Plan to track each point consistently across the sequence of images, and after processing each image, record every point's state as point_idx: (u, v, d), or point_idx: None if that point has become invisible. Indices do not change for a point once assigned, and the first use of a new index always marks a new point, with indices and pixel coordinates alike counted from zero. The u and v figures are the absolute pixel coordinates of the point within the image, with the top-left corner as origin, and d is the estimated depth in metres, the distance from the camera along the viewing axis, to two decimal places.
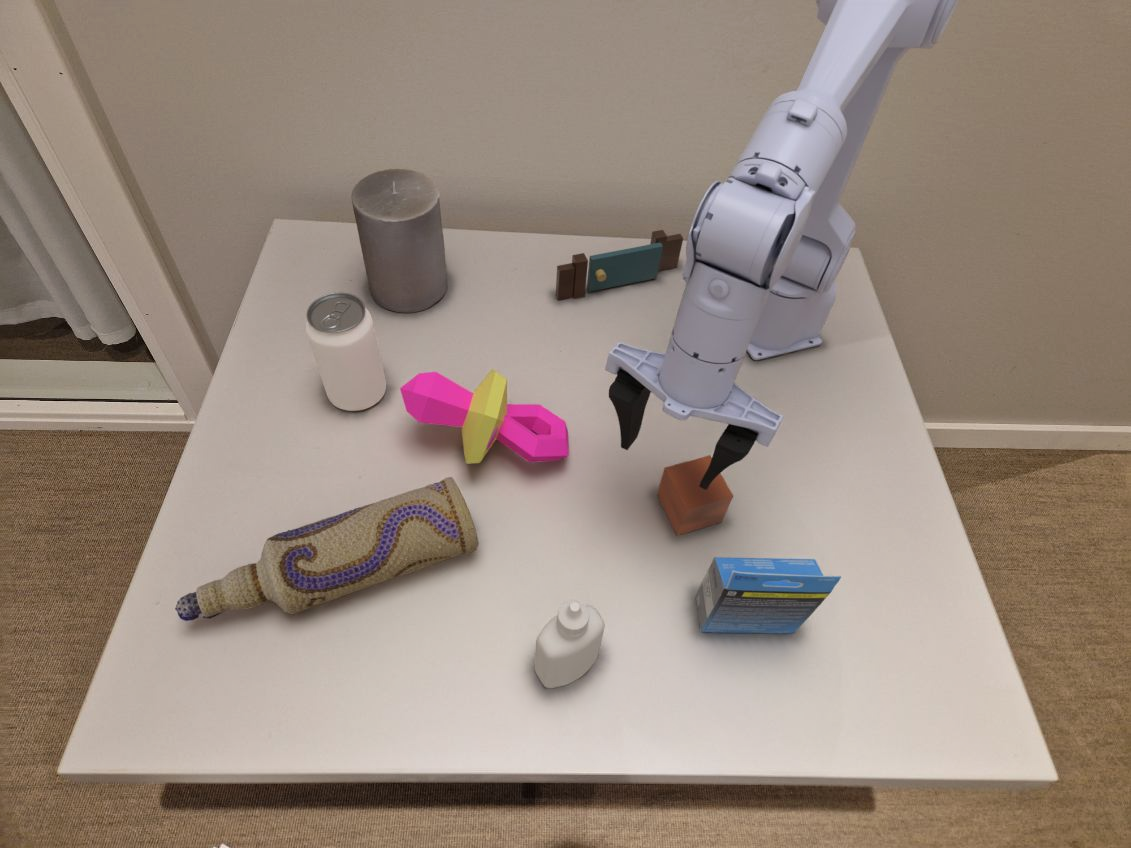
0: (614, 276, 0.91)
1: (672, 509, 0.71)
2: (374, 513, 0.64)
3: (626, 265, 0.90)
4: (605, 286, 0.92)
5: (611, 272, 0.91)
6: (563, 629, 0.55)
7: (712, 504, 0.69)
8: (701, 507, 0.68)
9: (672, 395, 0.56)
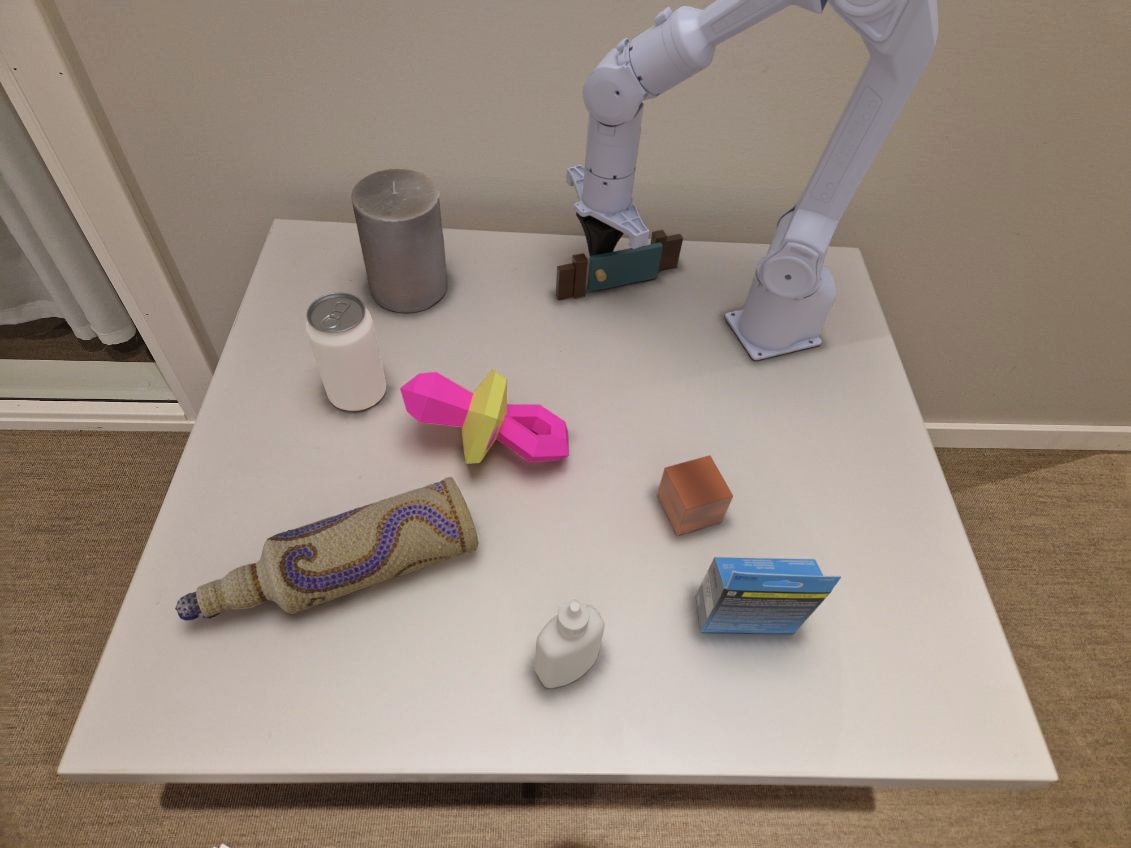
0: (614, 276, 0.91)
1: (672, 509, 0.71)
2: (374, 513, 0.64)
3: (626, 265, 0.90)
4: (605, 286, 0.92)
5: (611, 272, 0.91)
6: (563, 629, 0.55)
7: (712, 504, 0.69)
8: (701, 507, 0.68)
9: (583, 199, 0.84)
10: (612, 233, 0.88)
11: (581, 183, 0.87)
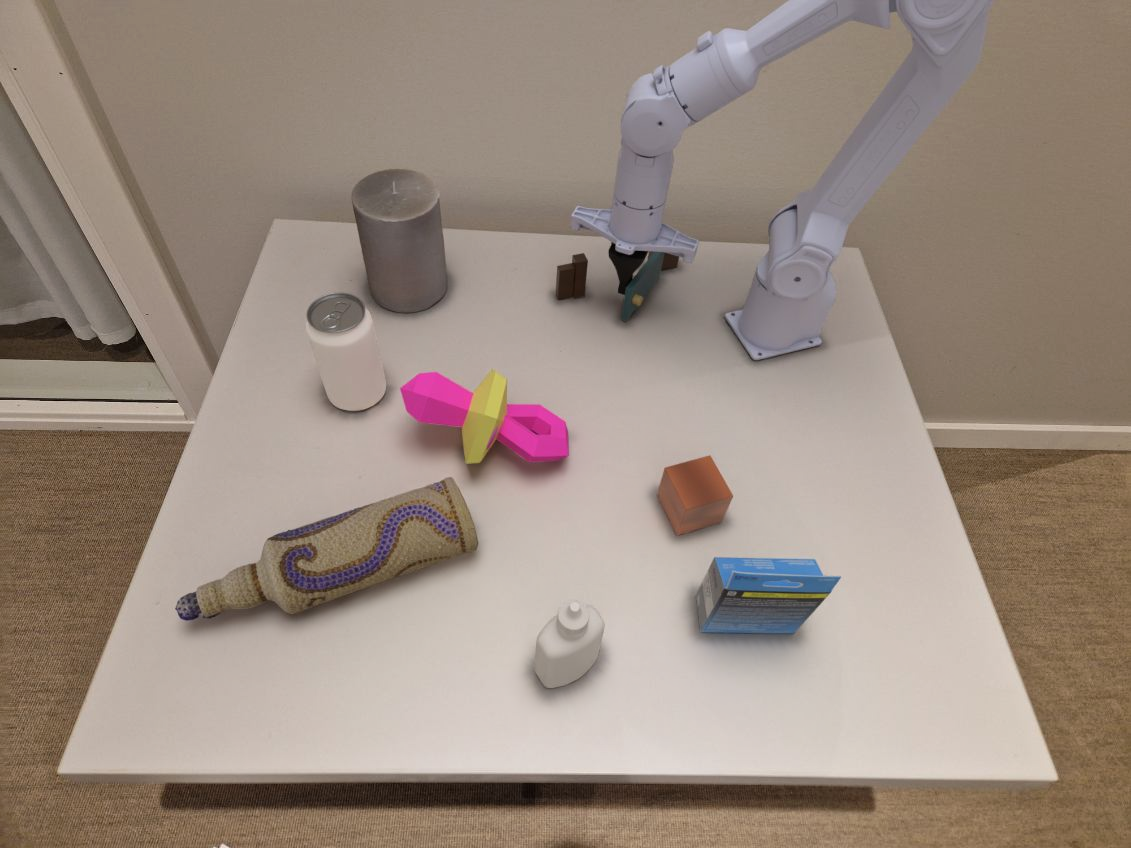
0: (640, 295, 0.89)
1: (672, 509, 0.71)
2: (374, 513, 0.64)
3: (647, 279, 0.89)
4: (635, 308, 0.90)
5: (639, 293, 0.89)
6: (563, 629, 0.55)
7: (712, 504, 0.69)
8: (701, 507, 0.68)
9: (620, 238, 0.80)
10: None
11: (596, 223, 0.82)
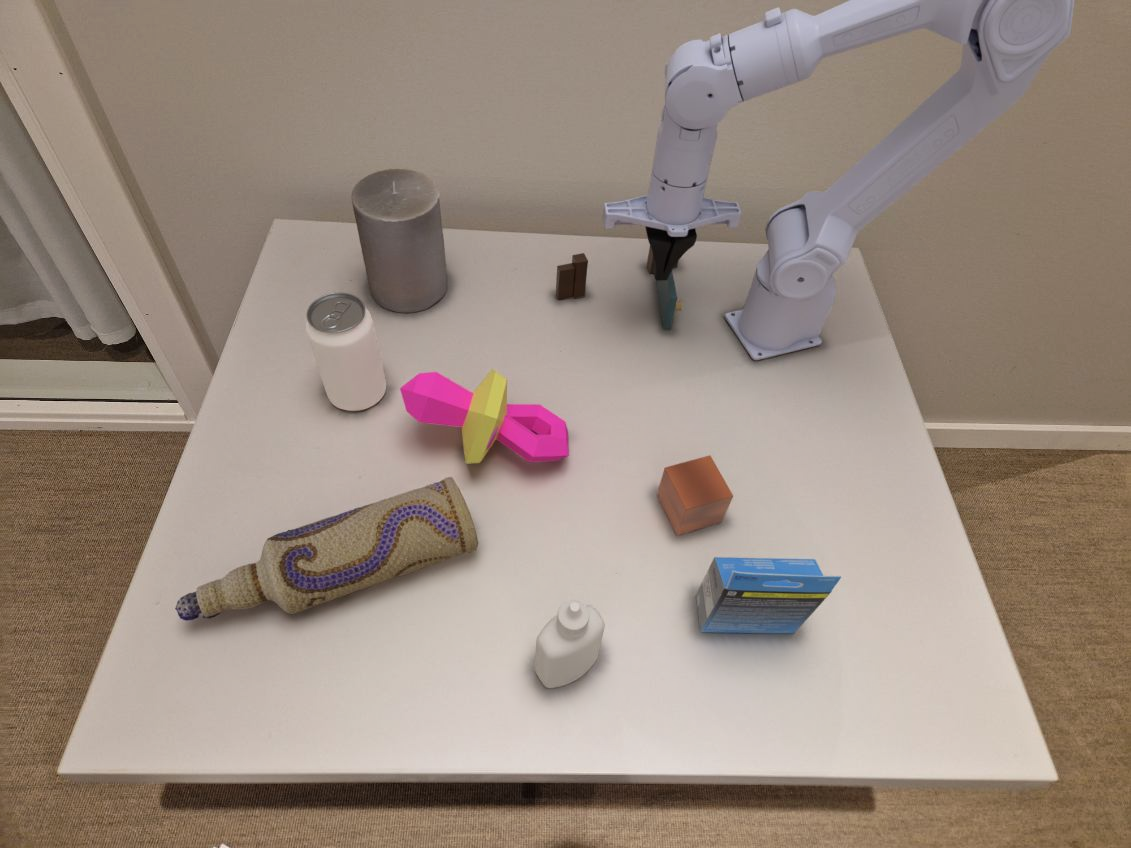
0: None
1: (672, 509, 0.71)
2: (374, 513, 0.64)
3: None
4: None
5: None
6: (563, 629, 0.55)
7: (712, 504, 0.69)
8: (701, 507, 0.68)
9: (669, 222, 0.75)
10: None
11: (633, 215, 0.77)
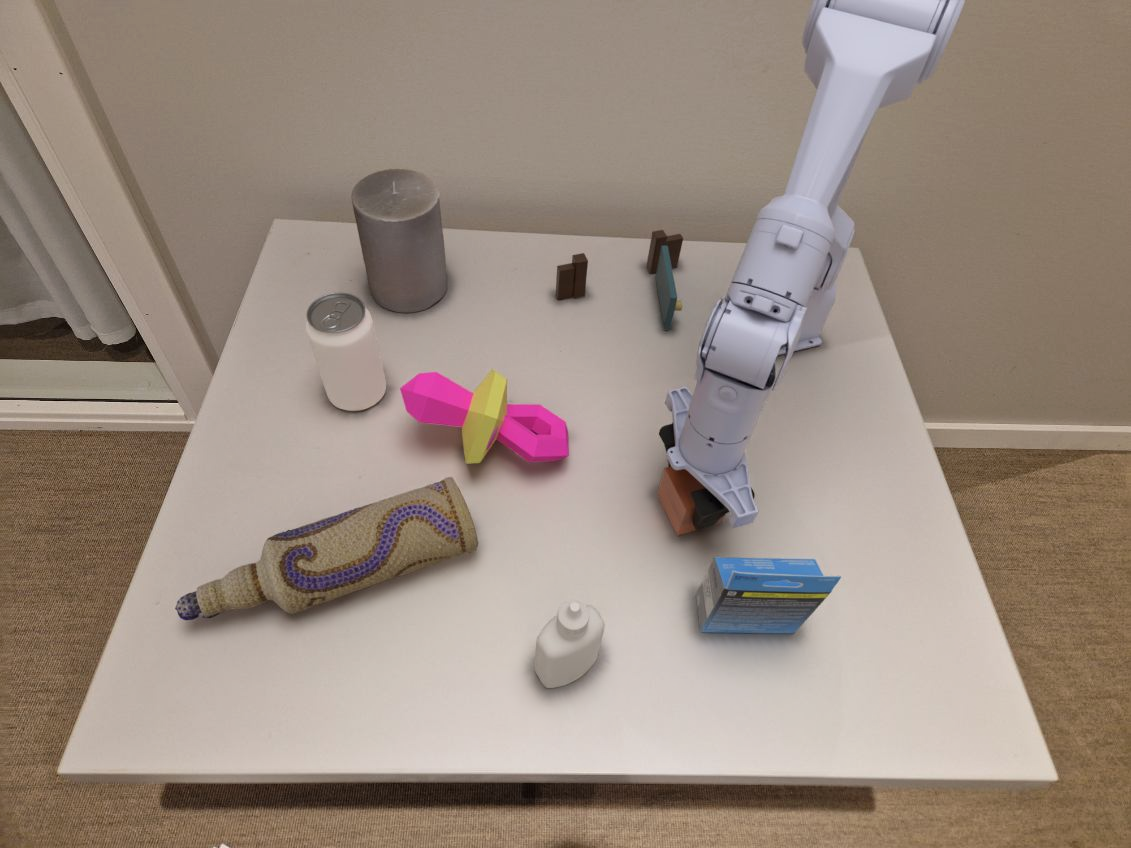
0: None
1: (673, 509, 0.71)
2: (374, 513, 0.64)
3: None
4: None
5: None
6: (563, 629, 0.55)
7: None
8: None
9: (680, 446, 0.65)
10: None
11: (682, 415, 0.68)
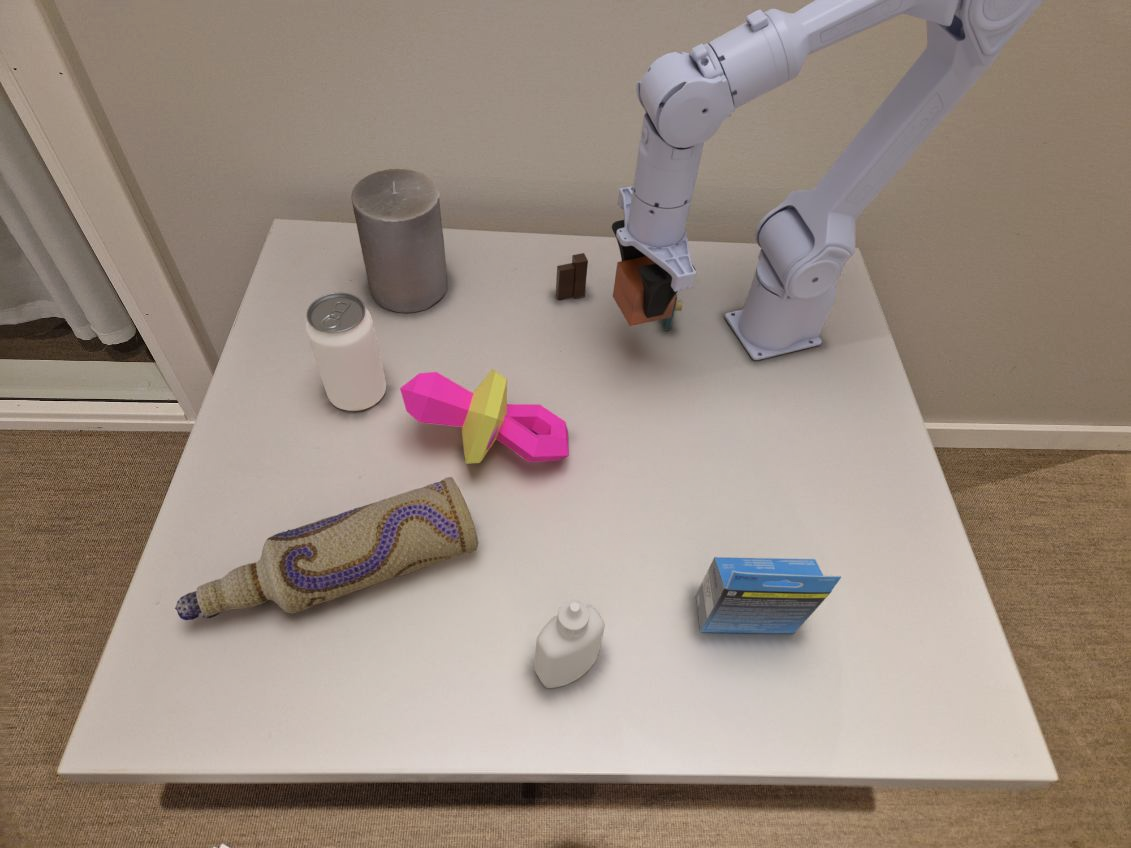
0: None
1: (625, 300, 0.78)
2: (374, 513, 0.64)
3: None
4: None
5: None
6: (563, 629, 0.55)
7: None
8: None
9: (628, 226, 0.72)
10: (669, 284, 0.75)
11: None
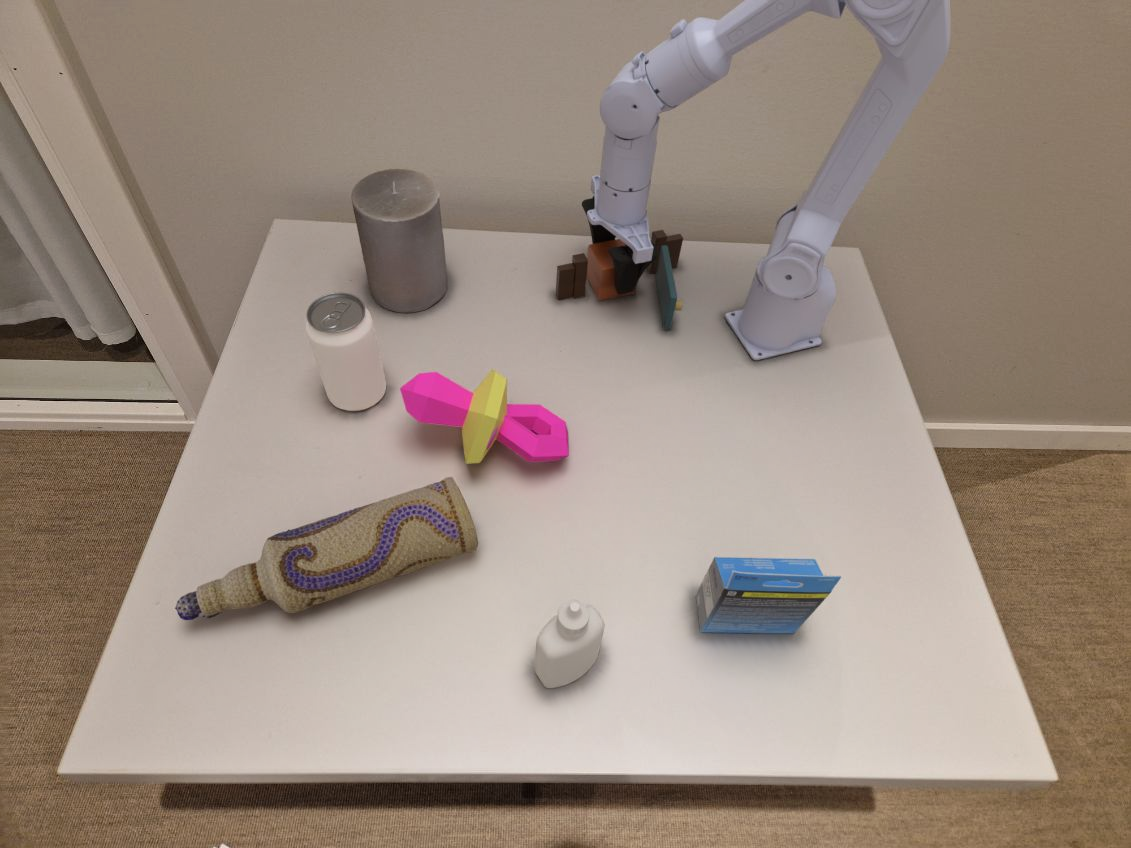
0: None
1: (595, 278, 0.91)
2: (374, 513, 0.64)
3: None
4: None
5: None
6: (563, 629, 0.55)
7: None
8: None
9: (597, 208, 0.84)
10: (637, 264, 0.86)
11: None
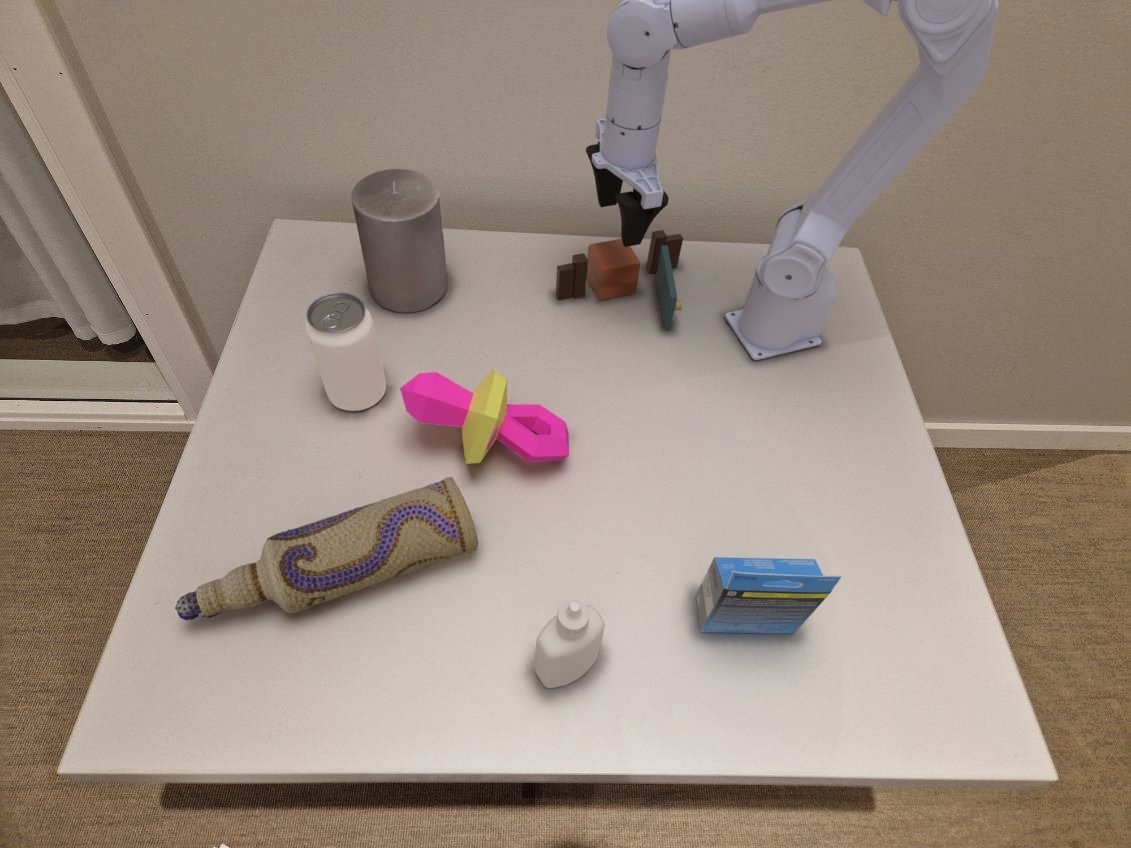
0: None
1: (595, 278, 0.91)
2: (374, 513, 0.64)
3: None
4: None
5: None
6: (563, 629, 0.55)
7: (624, 268, 0.89)
8: (615, 270, 0.88)
9: (602, 151, 0.78)
10: (645, 212, 0.80)
11: None
